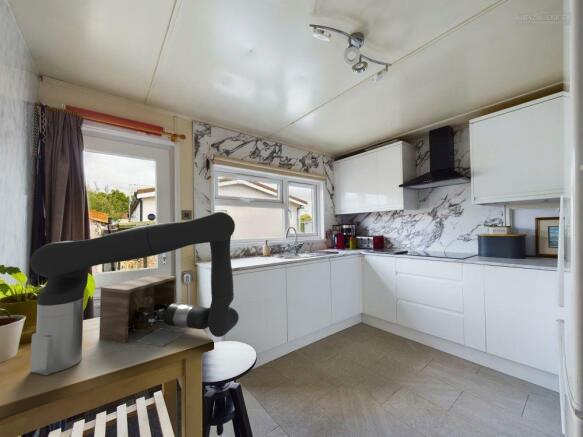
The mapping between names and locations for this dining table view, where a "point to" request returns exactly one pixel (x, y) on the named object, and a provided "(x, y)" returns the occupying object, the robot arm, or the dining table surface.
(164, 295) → the open box
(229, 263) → the robot arm
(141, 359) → the dining table surface
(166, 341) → the grey mat
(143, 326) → the utensil holder
